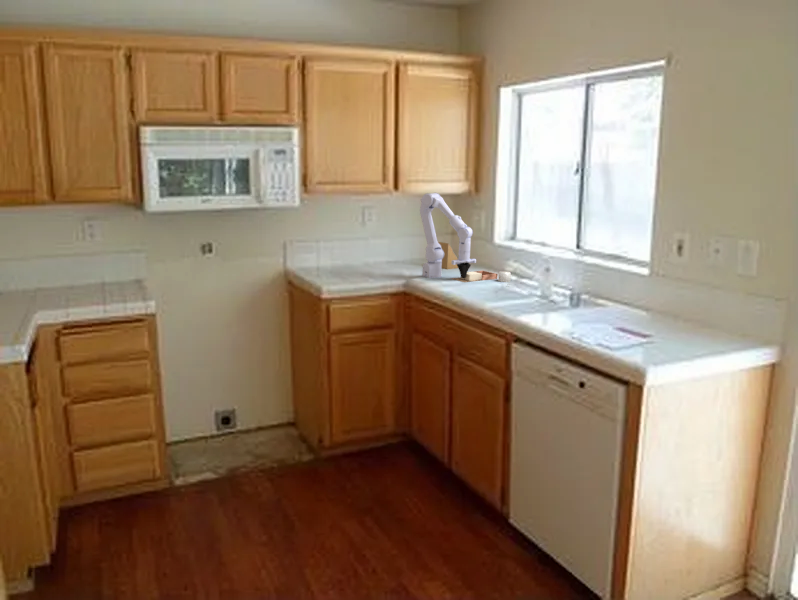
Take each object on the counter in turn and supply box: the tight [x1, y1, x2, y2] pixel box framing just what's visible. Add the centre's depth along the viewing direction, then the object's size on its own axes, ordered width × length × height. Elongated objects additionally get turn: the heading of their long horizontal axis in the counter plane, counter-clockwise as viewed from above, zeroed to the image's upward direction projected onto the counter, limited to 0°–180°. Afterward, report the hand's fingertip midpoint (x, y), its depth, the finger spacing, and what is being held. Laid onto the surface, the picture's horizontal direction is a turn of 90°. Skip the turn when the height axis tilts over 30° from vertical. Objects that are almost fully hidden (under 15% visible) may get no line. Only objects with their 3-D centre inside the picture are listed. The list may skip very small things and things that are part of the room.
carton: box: [461, 271, 482, 281], centre depth 346 cm, size 8×7×3 cm
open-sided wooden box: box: [449, 270, 499, 283], centre depth 347 cm, size 22×12×4 cm, turn 124°
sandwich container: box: [438, 241, 459, 270], centre depth 388 cm, size 9×15×15 cm, turn 133°
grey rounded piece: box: [497, 270, 511, 286], centre depth 342 cm, size 6×6×6 cm
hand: (463, 277), depth 343 cm, fingers closed
